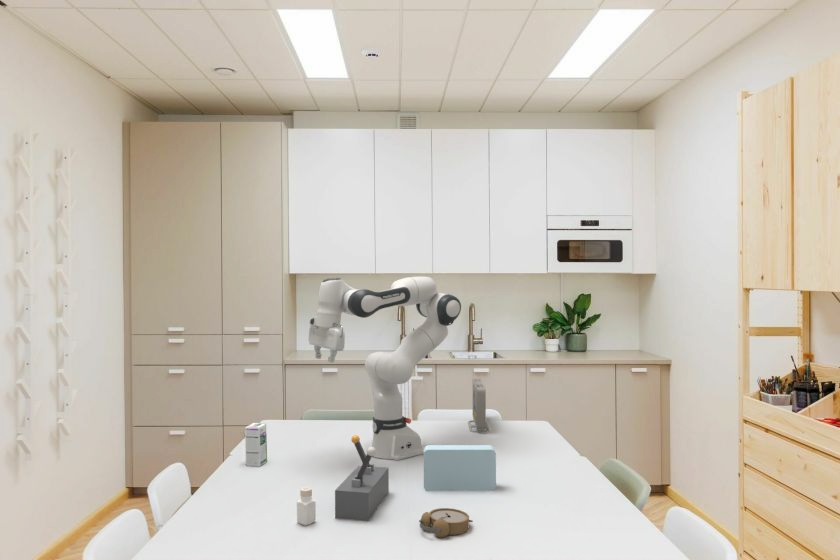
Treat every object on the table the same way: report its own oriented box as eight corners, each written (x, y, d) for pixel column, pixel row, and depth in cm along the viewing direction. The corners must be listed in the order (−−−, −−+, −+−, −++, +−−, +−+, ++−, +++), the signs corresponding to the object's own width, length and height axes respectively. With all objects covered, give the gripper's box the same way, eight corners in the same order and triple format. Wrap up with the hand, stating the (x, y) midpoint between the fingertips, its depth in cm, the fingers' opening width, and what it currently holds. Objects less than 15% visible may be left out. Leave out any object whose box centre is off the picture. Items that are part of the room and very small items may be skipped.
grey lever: (351, 482, 171) (367, 446, 169) (354, 479, 173) (370, 444, 172) (359, 486, 170) (375, 451, 169) (362, 483, 173) (378, 448, 172)
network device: (490, 434, 254) (490, 388, 254) (470, 434, 254) (470, 388, 254) (485, 419, 279) (485, 378, 279) (466, 419, 279) (466, 378, 279)
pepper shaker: (307, 518, 167) (307, 485, 167) (316, 521, 165) (316, 488, 165) (296, 522, 164) (295, 489, 164) (305, 526, 162) (305, 492, 162)
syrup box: (260, 467, 212) (259, 427, 212) (245, 466, 213) (244, 426, 213) (267, 462, 217) (267, 423, 217) (252, 461, 219) (252, 422, 218)
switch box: (335, 518, 167) (334, 483, 167) (358, 490, 189) (358, 459, 189) (368, 521, 165) (368, 485, 165) (388, 492, 187) (388, 461, 187)
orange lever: (364, 473, 181) (348, 438, 182) (366, 470, 184) (351, 435, 185) (371, 470, 181) (356, 435, 182) (373, 467, 183) (358, 432, 184)
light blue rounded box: (493, 484, 194) (493, 444, 194) (495, 490, 188) (495, 449, 188) (423, 484, 194) (423, 444, 194) (423, 490, 188) (423, 449, 188)
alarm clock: (478, 517, 161) (437, 522, 151) (476, 536, 160) (435, 542, 151) (451, 505, 169) (411, 509, 160) (449, 522, 169) (408, 527, 160)
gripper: (350, 325, 206) (346, 364, 205) (322, 320, 222) (318, 356, 221) (335, 324, 202) (331, 364, 201) (307, 319, 218) (303, 356, 217)
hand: (324, 360), depth 211 cm, fingers open, 8 cm apart
